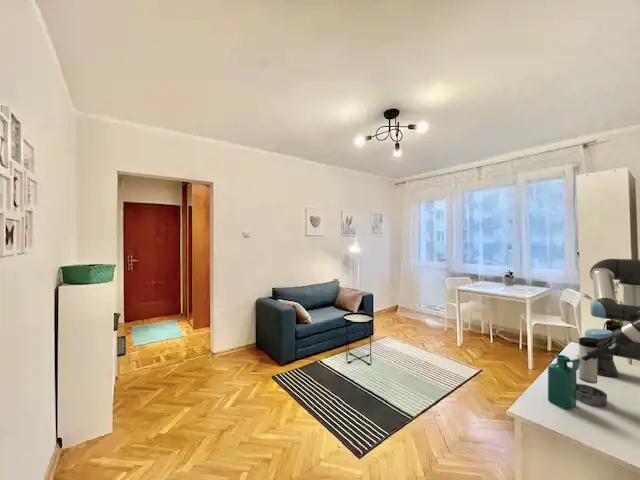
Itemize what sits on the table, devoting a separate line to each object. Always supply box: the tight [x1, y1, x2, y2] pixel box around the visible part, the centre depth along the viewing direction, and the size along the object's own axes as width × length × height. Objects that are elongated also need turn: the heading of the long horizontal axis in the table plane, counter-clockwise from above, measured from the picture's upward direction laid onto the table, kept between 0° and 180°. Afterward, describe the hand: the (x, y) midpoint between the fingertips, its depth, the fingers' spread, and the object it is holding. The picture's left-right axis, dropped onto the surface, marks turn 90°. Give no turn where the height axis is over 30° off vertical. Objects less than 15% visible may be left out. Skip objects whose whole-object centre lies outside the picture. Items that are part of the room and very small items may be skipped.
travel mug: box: [578, 336, 598, 385], centre depth 131 cm, size 6×7×20 cm
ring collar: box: [576, 382, 608, 408], centre depth 132 cm, size 12×12×4 cm
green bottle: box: [547, 354, 580, 410], centre depth 127 cm, size 10×8×22 cm
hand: (577, 360), depth 134 cm, fingers closed on travel mug, 6 cm apart
